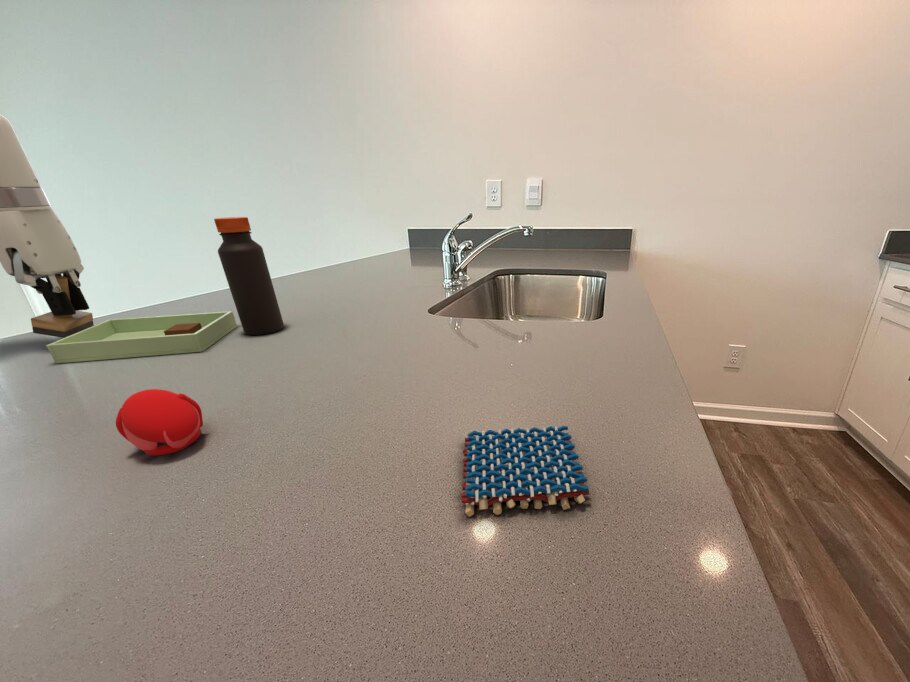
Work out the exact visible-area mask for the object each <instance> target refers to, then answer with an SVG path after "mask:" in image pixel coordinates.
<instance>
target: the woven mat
mask: <svg viewBox="0 0 910 682" xmlns="http://www.w3.org/2000/svg"><path fill="white" fill-rule="evenodd" d="M568 430H569V426H568V425H562V426H555V427H553V426H552V425H550V424H549V425H547V427H542V429H541V428H538V427H536V425H532V427H531V428H525V429H524V428H523V427H518V428H516V429H514V428H511V429H508V427H504V429H503V430H501V429H498V431H495V430H493V429H492V428H489V429H488V430H487V431H485V430H482V431H481V432H480V430H478V429H477V430H472V431H471V432H468V433H467V437H464V447H465V448H463V450H462V453H463V454H464V455H463V456H464V457H465V458H462V463H463V468H462V469H463V472H462V478H463V479H465V481H463V482H462V483H461V486H462V488H461V489H462V491H465V492H463V493H461V496H460V497H461V504H465V509H464V510H465V511H464V514H465V515H466V516H467V517H469V518H470V517H472V516H473V515H475V505H476V506H478V509H479V510H488V509H489V507H490V506H492V513H494V514H495V515H496V516H499V515H501V514H502V511H503V510H502V503H503V502H506V507H507V508H509V509H513V508H515V506H516V502H517V501H519V504H520V506H519V507H520V508H521V509H522V510H525V509H528V507H529V502H531V501H533V506H534V509H536V510H541V509H542V508H543V502H545V503H547V504H548V505H549V506H551V505H552V506H553V505H557V502H558V501H559V500H560V506H561V508H562V510H563V511H565V510H569V509H571V506H570V503H569V498H573V499H574V501H575V502H576V503H578V504H579V505H580V504H582V503H584V502H585V501H586V500H585V497H584V496H589V495H590V489H589V486H588V485H584V484H585V483H587V482H588V477H587V476H585V475H584V473H583V469H584V466H583V465H582V464H580V462H579V461H576V460H578V459H579V457H580V456H579V454H578V453H576V451H574V449H575V448H576V445H575V444H574V443H573V442H572V435H571V434H569V432H563V431H568ZM542 493H544V494H542ZM488 497H489V498H488Z"/></svg>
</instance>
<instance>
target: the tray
mask: <svg viewBox="0 0 910 682" xmlns="http://www.w3.org/2000/svg"><path fill="white" fill-rule="evenodd" d="M190 323H200V324H201V326H202V329H200V330H199V331H197V332H195V333H194V334H180V335H166V336H165V333H164V331H165V330H167V329H169V328H171V327H172V326H174V325H176V324H190ZM237 327H238V324H237V321H236V319H235V315H234V312H233V311H232V310H231V311H215V312H202V313H201V312H199V313H185V314H171V315H156V316H143V317H141V316H140V317H127V318H112V319H111V318H110V319H107V320H104V321H102V322H99V323H97V324H94V326H92V327H90V328H87V329H85V330H82V331H80V332H77V333H75V334H73V335H70V336H68V337H65V338H60V339H57V340H56V341H54V342H50V343H48V344H46V345H45V346H46V348H47V350H48V352H49V354H50V355H51V357H52V359H53V361H54V362H55V364H68V363H79V362H81V363H82V362H89V361H90V362H92V361H94V362H95V361H103V360H116V359H128V358H130V359H131V358H143V357H153V356H165V355H178V354H179V355H180V354H190V353H191V354H192V353H202V352H204V351H206V350H207V349H208V348H210V347H211V346H212V345H214V344H215V343H216V342H218V341H219V340H221V339H222V338H223V337H225V336H226V335H228V334H229V333H231V332H232V331H233V330H235V329H236V328H237Z"/></svg>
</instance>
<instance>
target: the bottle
mask: <svg viewBox="0 0 910 682" xmlns="http://www.w3.org/2000/svg"><path fill="white" fill-rule="evenodd" d="M213 220H214V224H215V227H216V230H217V233H219V234H218V235H219V236H220V237H221V238H222V239H221V240H222V243H221V244H220V245H219V247H218V249H217V254H218V257H219V260H220V263H221V266H222V269H223V272H224V275H225V278H226V282H227V284H228V287H229V290H230V293H231V297H232V299H233V302H234V306H235V310H236V312H237V315H238V317H239V321H240V324H241V327H242V331H243V332H244V333H245V335H249V336H262V335H263V336H264V335H269V334H273V333H277V332H279V331H282V329H284V327H285V323H284V319H283V317H282V312H281V309H280V306H279V302H278V298H277V296H276V292H275V289H274V285H273V284H274V283H273V281H272V277H271V274H270V270H269V267H268V263H267V259H266V256H265V253H264V248H263V246H262V245H261V244H259V243H258V242H256V241H255V240H254V239H253V238H252V235H251V234H252V228H251V224H250V222H249V221H250V220H249V218H248V216H232V217H217V218H214V219H213Z"/></svg>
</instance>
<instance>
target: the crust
mask: <svg viewBox="0 0 910 682" xmlns="http://www.w3.org/2000/svg"><path fill="white" fill-rule="evenodd" d="M200 329H202V326H201V324H200V323H190V324H176V325H174V326H172V327H171V328H169V329H167V330H165V331H164V333H165V336H166V335H180V334H194V333H195V332H197V331H199V330H200Z"/></svg>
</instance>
